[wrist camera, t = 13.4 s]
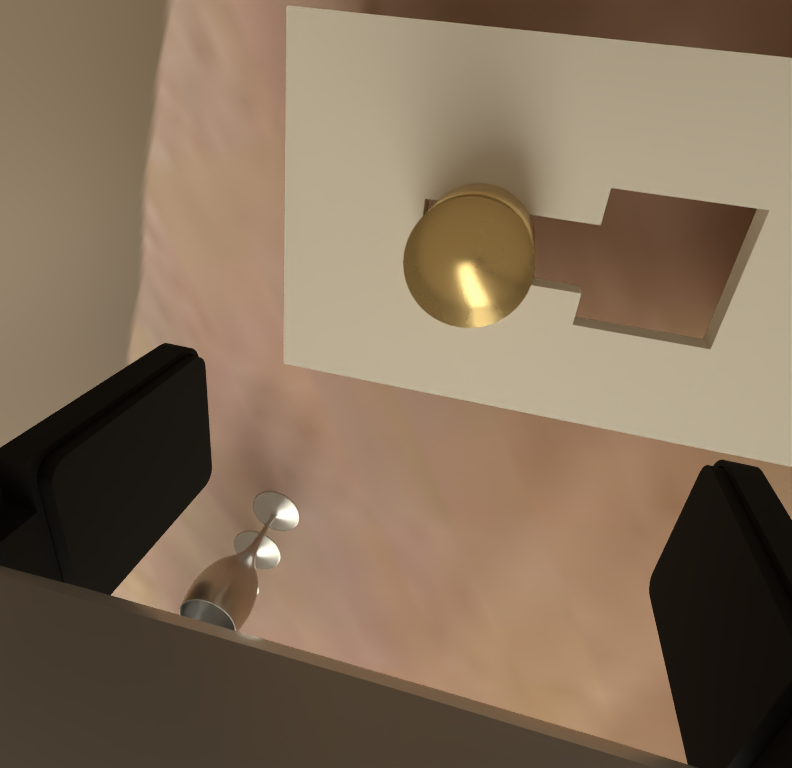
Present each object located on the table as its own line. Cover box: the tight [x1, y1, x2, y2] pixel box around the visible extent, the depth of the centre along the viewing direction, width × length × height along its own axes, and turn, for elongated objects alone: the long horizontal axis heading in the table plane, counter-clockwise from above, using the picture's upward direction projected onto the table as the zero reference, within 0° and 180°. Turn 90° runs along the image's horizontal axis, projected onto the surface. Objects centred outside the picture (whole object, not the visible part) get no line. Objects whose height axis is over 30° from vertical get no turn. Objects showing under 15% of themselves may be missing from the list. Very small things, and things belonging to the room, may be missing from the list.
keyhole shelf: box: [284, 5, 792, 467], centre depth 28 cm, size 26×16×10 cm, turn 84°
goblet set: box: [179, 492, 299, 632], centre depth 49 cm, size 28×6×13 cm, turn 155°
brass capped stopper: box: [403, 183, 535, 328], centre depth 25 cm, size 5×5×10 cm
